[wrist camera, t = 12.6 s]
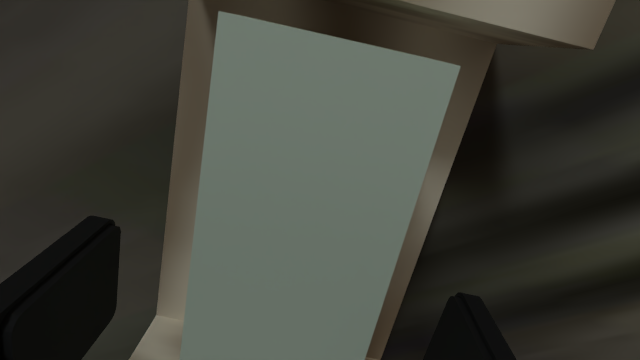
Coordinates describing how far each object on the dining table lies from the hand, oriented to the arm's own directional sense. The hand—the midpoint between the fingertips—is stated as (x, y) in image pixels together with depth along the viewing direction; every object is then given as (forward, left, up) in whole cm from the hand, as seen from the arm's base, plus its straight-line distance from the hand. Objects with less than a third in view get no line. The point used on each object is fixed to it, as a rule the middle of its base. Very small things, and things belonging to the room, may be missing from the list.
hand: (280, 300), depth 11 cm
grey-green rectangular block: (0, 0, -3) cm, 3 cm away
